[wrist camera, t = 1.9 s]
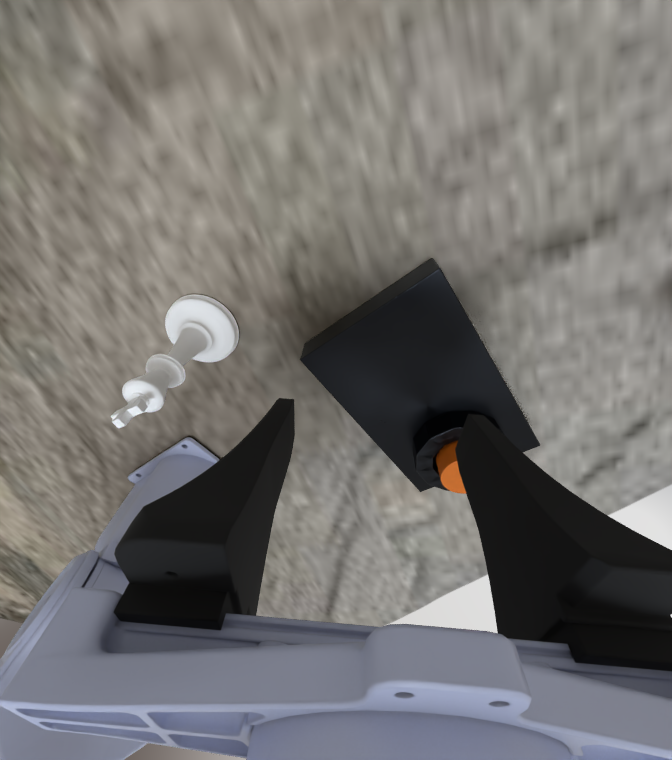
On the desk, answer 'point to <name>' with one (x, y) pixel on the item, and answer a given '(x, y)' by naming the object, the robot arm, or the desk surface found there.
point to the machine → (414, 373)
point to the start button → (449, 468)
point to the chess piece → (180, 352)
